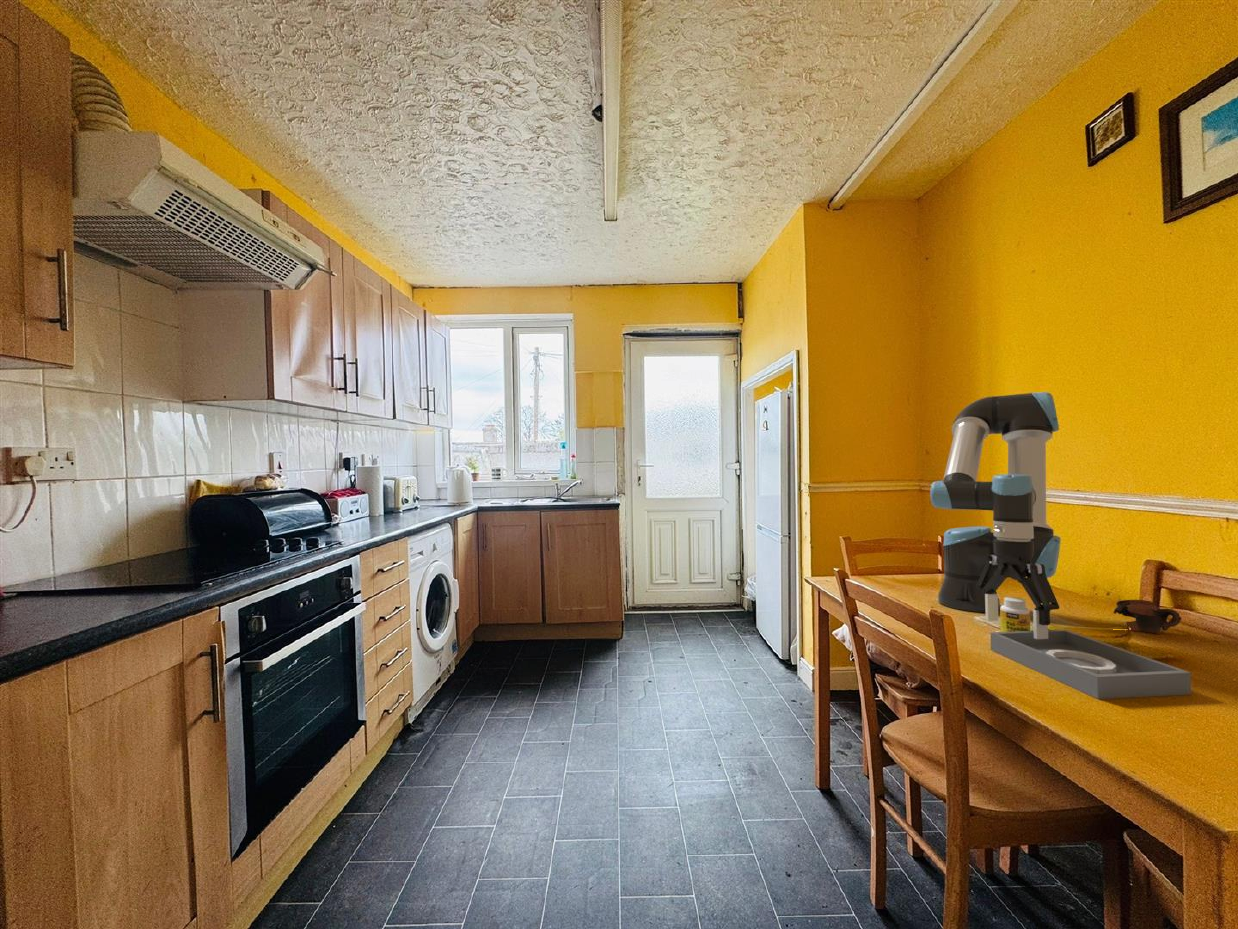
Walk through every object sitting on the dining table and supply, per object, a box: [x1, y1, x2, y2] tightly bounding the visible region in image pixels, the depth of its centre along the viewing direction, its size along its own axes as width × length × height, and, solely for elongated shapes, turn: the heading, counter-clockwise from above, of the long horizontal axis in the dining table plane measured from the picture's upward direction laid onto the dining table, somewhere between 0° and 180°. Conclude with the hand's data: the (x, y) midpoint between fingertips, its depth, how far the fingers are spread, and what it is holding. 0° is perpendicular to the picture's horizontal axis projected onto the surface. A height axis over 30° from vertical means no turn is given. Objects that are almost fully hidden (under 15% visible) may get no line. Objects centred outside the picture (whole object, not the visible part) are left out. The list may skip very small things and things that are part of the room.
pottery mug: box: [1113, 599, 1182, 635], centre depth 125 cm, size 12×10×8 cm
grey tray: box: [989, 628, 1192, 700], centre depth 102 cm, size 24×18×4 cm
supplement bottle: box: [999, 596, 1031, 632], centre depth 118 cm, size 6×6×10 cm
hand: (1015, 629), depth 118 cm, fingers open, 13 cm apart
